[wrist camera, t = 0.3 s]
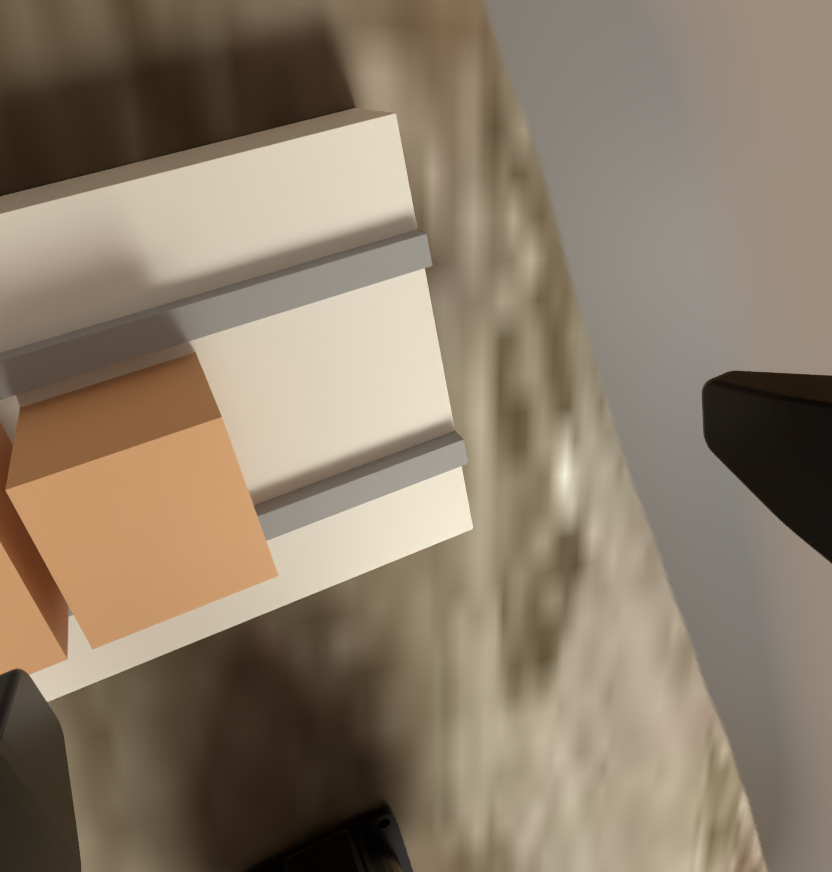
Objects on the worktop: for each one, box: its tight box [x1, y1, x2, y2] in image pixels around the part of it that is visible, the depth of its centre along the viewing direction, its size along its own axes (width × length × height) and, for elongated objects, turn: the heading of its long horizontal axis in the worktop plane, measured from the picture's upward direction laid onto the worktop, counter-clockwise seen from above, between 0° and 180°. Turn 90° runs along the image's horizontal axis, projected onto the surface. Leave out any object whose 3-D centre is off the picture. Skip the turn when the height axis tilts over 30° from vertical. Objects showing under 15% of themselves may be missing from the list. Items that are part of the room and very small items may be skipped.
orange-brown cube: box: [5, 352, 279, 650], centre depth 17 cm, size 4×4×4 cm
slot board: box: [0, 108, 473, 702], centre depth 19 cm, size 12×19×4 cm, turn 101°
